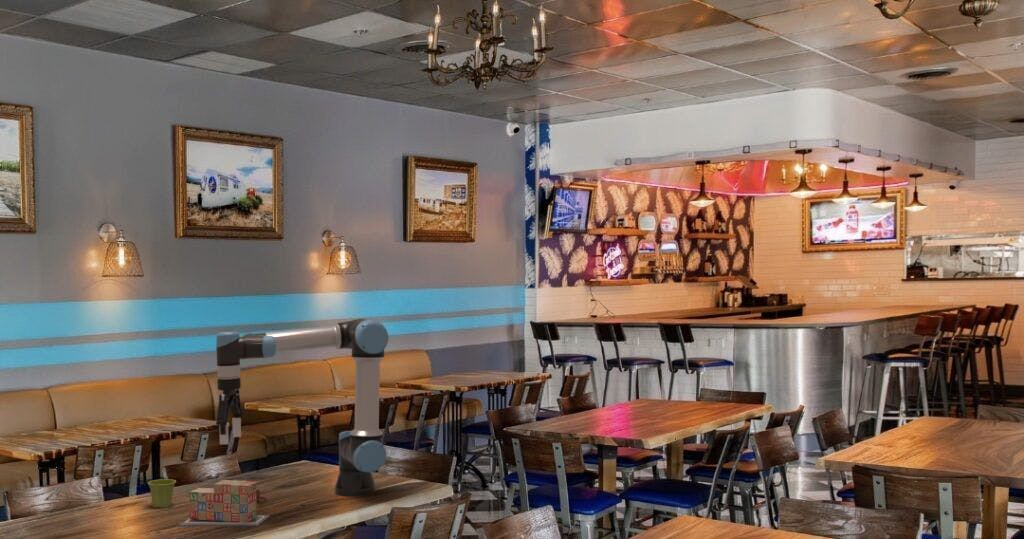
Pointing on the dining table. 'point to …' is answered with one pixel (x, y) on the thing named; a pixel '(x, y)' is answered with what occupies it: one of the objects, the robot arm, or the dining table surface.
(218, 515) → the stack of blocks
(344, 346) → the robot arm
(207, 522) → the blueprint baseplate
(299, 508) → the dining table surface
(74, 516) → the dining table surface
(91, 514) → the dining table surface
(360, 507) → the dining table surface
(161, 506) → the plant pot
